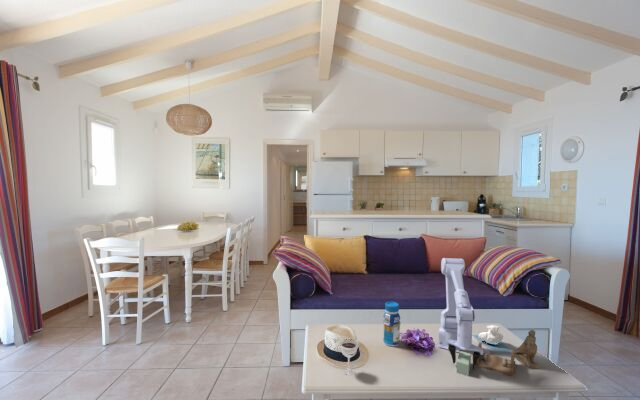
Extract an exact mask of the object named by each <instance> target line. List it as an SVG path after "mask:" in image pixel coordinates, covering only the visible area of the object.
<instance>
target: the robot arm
mask: <svg viewBox="0 0 640 400" xmlns="http://www.w3.org/2000/svg"><path fill="white" fill-rule="evenodd" d="M440 262H441V263H440V271H441V274H442V275H444V276H445V292H446V293H445V295H446V308H444V309H443V310H441V312H440V327H439V329H438V344H437V346H438V348H440V349H441V348H442V349H444V350H447V351H448V352H449V353H450V355H451V359H452V364H453V365H454V364H456V363H457V359H456V357H457V356H456V354H457V353H459V352H460V351H461V350H462V351H470V352H472V353H473V354H472V366H471V368H472V370H475V369H476V368H475V367H476V366H475V364H476V362H477V360H478V358H479V357H480V354H481V355H483V352H484V348H480V347H478V345H475V344H473V343H472V342H473V340H472V338H473V322H475V319H476V318H475V317H476V315H475V309H474V308H473V305H472V304H471V303H470V297H469V295H468V294H469V293H468V291H466V290H465V287H464V285H465V284H464V279H463V275H464V273H465V269H466V263H465V260H464V259H463V258H461V257H460V258H456V257H455V258H451V257H450V258H448V257H442V259H441V261H440Z"/></svg>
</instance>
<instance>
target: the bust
mask: <svg viewBox="0 0 640 400" xmlns="http://www.w3.org/2000/svg"><path fill="white" fill-rule="evenodd" d="M486 328H487V329H488V331H482V332H480V333H479V334H478V336H477V337H478V339H479V338H481V339H482V340H485V341H488V342H492V343H494V342H496V343H497V342H500V341H501V342H502V340H503V339H504V335H503V333H501V332H499V330H500V326H498V325H495V324H491V325H486ZM501 342H500V343H501Z"/></svg>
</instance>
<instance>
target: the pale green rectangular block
mask: <svg viewBox="0 0 640 400" xmlns="http://www.w3.org/2000/svg"><path fill="white" fill-rule="evenodd" d="M471 359H472V354H471V353H470V352H465V351H463V350H462V351H461V350H460V351H459V352H458V355H457V359H456V374H459V375H463V376H466V377H469V374H470V369H471V363H472V361H471Z"/></svg>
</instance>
